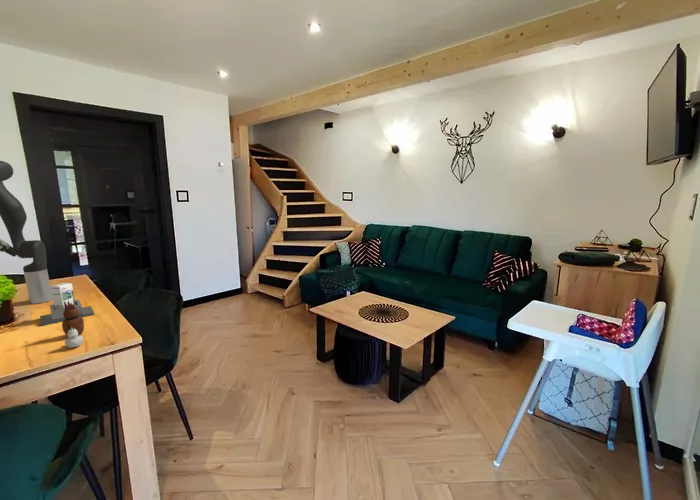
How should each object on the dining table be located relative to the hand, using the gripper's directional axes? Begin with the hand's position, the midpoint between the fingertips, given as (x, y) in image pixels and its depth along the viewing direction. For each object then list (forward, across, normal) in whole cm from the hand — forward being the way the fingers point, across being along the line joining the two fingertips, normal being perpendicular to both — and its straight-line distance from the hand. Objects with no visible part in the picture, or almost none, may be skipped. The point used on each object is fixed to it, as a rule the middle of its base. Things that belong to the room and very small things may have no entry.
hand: (16, 253), depth 153 cm
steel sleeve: (+31, -11, +12) cm, 35 cm away
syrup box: (+30, -11, +12) cm, 34 cm away
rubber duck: (+31, -54, +13) cm, 63 cm away
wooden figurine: (+32, -41, +12) cm, 53 cm away
